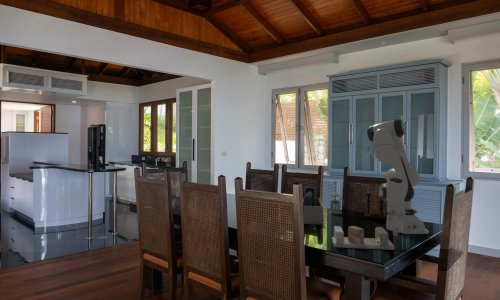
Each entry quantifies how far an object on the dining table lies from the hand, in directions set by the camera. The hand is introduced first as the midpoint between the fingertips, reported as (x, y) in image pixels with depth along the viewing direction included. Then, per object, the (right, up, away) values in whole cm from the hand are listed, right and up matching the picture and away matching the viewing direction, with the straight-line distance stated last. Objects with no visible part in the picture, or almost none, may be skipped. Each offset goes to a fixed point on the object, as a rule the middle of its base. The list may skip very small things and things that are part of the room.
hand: (395, 235), depth 189 cm
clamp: (-34, -6, +74) cm, 81 cm away
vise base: (-17, -6, +3) cm, 18 cm away
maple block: (-20, -4, +3) cm, 21 cm away
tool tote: (-32, -5, +73) cm, 80 cm away
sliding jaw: (-7, -3, +1) cm, 8 cm away
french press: (-8, -5, +95) cm, 96 cm away
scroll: (+15, -5, +74) cm, 75 cm away
